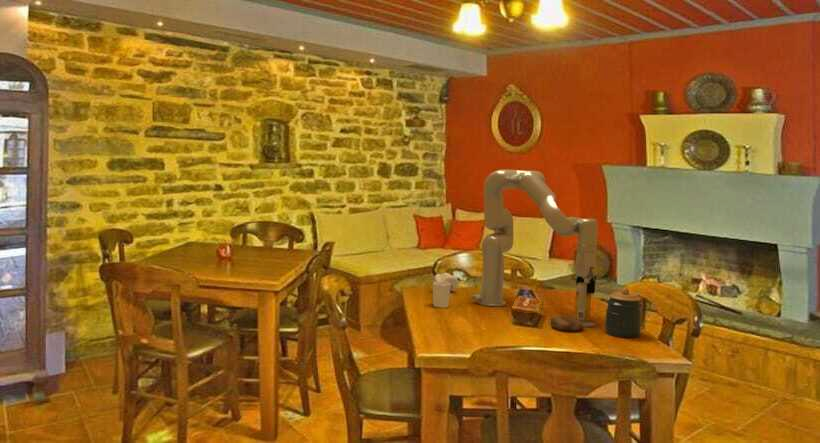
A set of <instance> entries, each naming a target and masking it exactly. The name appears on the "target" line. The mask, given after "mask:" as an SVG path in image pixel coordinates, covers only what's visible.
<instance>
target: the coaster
mask: <svg viewBox="0 0 820 443" xmlns="http://www.w3.org/2000/svg"><path fill="white" fill-rule="evenodd" d="M594 327H596V323H595V322H591V321H583V327H582V328H594Z"/></svg>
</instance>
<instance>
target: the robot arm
mask: <svg viewBox="0 0 820 443" xmlns="http://www.w3.org/2000/svg"><path fill="white" fill-rule="evenodd" d="M503 190H523V191H524V192H525V193H526V195H527V196H528V197H529V198H530V200H532V201H533V202H534V203H535V205H536V206H537V207H538V208H539V211H540V213H541V215H542V217H543V219H544V221H545V222H546V223H547V224H548V225H549V226H550V228H551V229H552V230H553V231H554V232H555V233H556V234H558V235H559V236H561V237H569V236H574V235H575V236H576V235H577V248H576V249H577V250H576V256H575V258H576V259H575V263H574V264H575V266H574V274H575V275H576V276H575V279H576V284H575V286H576V285H577V283H580V282H583V283H585V278H586V280H587V282H586V283H587V293H591V294H595V293H596V292H595V290H596V283H597V277H598V273H597V255H596V254H597V246H598V244H597V243H598V228H599V227H598V226H599V224H598V221H597V219H596V218H581V217H580V218H579V217H575V216H569V217H568V216H566V215H565V214H564V213H563V211H561V209H560V208H559V207H558V205H557V202H556V194H555V193H554V192H553V191H552V189H551V188H549V186H548V185H547V184H546V178H545V176H544V174H543V173H542V172H540V171H537V170H517V169H498V170H495V171H493V172H491V173H490V174H489V175H488V176H487V177H486V178H485V180H484V184H483V202H484V204H483V206H484V207H483V209H484V210H483V215H484V217H483V219H484V220H483V222H484V226H485V227H486V229H488V230H489V231H493V233H490V234H489V233H488V234H487V235H486V236H485V237H484V238H483V240H482V241H481V242H482V243H481V253H482V273H481V291H479V293H477V294H470V299H473V300H477V301H476V302H477V304H478V305H482V306H484V307H503V306H505V305H506V304H507V301H506V300H504V299H503V293H504V275H505V274H504V273H505V259H504V254H505V253H508V252H510V251H511V250H512V248H513V247H514V219H513V218H514V217H513V214H512V213H511V211H510V210H509V209H507V208H505V207H504V196H503V195H504V194H503V193H502V192H503Z"/></svg>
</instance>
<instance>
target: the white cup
mask: <svg viewBox="0 0 820 443" xmlns="http://www.w3.org/2000/svg"><path fill="white" fill-rule="evenodd" d="M450 290H451V283H448V282H435V281H433V282H432V305H433V307H434V308H443V309H444V308H449V307H450V300H451V299H450V298H451V292H450Z"/></svg>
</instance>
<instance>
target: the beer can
mask: <svg viewBox="0 0 820 443" xmlns="http://www.w3.org/2000/svg"><path fill="white" fill-rule="evenodd" d="M587 283H588V282H584V283H583V282H580V283H577V285H576V284H575V299H574V300H575V301H574V303H575V304H574V317H573V318H577V319H580V320H582V321H587V322H589V320H590V318H591V308H592V307H591V305H592V304H591V303H592V302H591V301H592V293H587Z"/></svg>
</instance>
